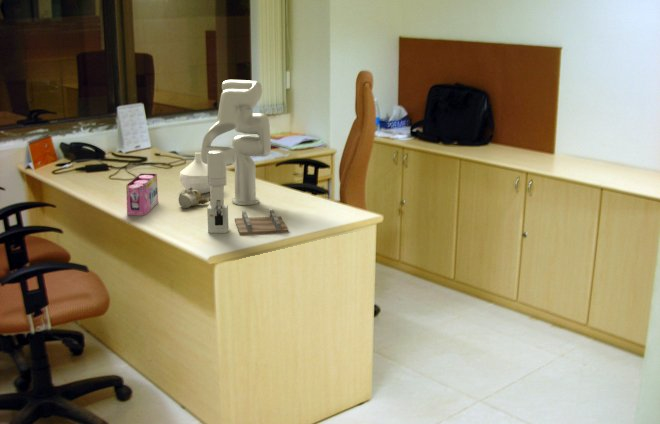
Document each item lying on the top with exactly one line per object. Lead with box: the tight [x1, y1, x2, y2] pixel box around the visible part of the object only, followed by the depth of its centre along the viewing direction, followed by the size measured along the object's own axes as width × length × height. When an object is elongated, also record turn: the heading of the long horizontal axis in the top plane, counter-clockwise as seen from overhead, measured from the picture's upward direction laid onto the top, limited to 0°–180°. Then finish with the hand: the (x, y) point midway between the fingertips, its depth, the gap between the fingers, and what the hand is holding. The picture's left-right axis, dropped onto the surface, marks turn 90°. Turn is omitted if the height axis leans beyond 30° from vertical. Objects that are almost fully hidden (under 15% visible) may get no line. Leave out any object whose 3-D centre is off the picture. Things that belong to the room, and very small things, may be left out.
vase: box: [179, 151, 210, 195], centre depth 376 cm, size 18×18×19 cm
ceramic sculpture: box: [178, 188, 210, 209], centre depth 354 cm, size 11×9×15 cm
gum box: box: [126, 173, 159, 217], centre depth 346 cm, size 24×8×14 cm, turn 177°
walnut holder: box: [234, 209, 289, 236], centre depth 325 cm, size 20×20×4 cm
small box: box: [206, 204, 230, 234], centre depth 318 cm, size 8×6×10 cm
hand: (218, 221), depth 318 cm, fingers open, 9 cm apart
